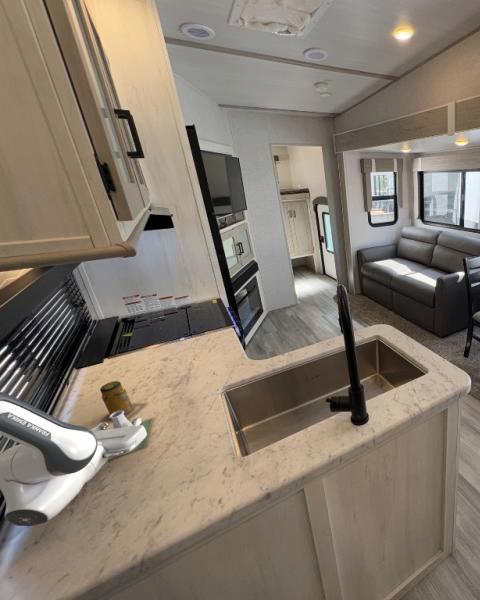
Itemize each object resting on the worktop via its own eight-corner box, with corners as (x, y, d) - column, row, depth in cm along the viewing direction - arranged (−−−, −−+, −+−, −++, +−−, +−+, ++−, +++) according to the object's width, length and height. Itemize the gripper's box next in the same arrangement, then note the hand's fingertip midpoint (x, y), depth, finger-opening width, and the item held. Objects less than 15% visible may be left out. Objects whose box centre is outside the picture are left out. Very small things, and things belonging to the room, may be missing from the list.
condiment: (122, 407, 112) (109, 379, 107) (144, 406, 111) (132, 378, 107) (104, 421, 105) (89, 392, 100) (128, 420, 105) (114, 391, 100)
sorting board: (54, 481, 84) (53, 479, 83) (72, 446, 95) (71, 445, 95) (145, 448, 93) (144, 447, 92) (152, 420, 104) (151, 419, 104)
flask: (130, 448, 92) (117, 422, 89) (106, 449, 93) (93, 423, 89) (148, 430, 99) (137, 405, 95) (127, 430, 99) (115, 406, 96)
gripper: (122, 445, 81) (154, 409, 94) (37, 455, 79) (81, 418, 92) (131, 462, 84) (161, 425, 96) (48, 473, 81) (90, 434, 94)
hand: (122, 421), depth 94 cm, fingers open, 8 cm apart
